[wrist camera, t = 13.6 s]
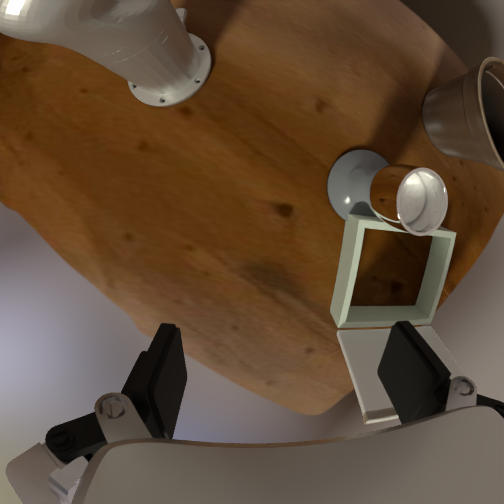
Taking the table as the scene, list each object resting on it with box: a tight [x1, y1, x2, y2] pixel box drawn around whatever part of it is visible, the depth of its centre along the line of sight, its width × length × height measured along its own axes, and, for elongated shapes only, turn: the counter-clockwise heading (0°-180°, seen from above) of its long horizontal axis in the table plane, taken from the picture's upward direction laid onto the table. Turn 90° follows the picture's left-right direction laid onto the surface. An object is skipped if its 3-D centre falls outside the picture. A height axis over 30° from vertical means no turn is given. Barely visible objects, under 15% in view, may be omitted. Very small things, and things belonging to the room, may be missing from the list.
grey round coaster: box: [327, 150, 389, 221], centre depth 36 cm, size 11×11×1 cm
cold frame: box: [330, 214, 456, 328], centre depth 38 cm, size 16×18×5 cm
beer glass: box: [346, 164, 448, 236], centre depth 28 cm, size 7×7×15 cm
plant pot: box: [422, 57, 504, 172], centre depth 25 cm, size 16×16×16 cm
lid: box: [337, 326, 466, 424], centre depth 30 cm, size 16×18×1 cm
